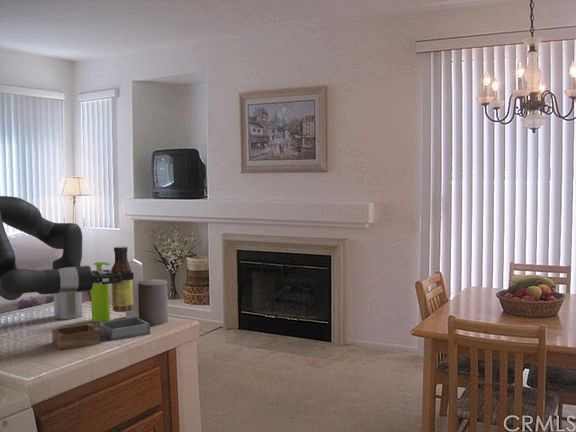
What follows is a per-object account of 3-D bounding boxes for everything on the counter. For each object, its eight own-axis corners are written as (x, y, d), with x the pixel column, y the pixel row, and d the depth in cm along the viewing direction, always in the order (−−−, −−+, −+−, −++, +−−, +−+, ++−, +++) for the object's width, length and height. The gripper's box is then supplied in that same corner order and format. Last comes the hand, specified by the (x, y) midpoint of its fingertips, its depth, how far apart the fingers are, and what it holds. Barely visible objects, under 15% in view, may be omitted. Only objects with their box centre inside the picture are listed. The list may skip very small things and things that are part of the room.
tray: (98, 332, 177) (98, 322, 177) (136, 326, 184) (136, 317, 184) (110, 340, 168) (109, 330, 167) (150, 333, 175) (149, 323, 174)
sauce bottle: (137, 310, 176) (137, 246, 175) (121, 313, 170) (121, 248, 170) (123, 307, 179) (122, 245, 178) (107, 310, 174) (106, 247, 173)
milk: (126, 320, 192) (123, 256, 191) (125, 316, 198) (123, 254, 197) (144, 319, 194) (141, 255, 193) (143, 315, 200) (141, 253, 199)
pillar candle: (132, 323, 187) (131, 279, 186) (151, 317, 196) (150, 274, 195) (156, 327, 183) (155, 281, 182) (174, 320, 192) (173, 276, 191)
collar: (52, 342, 166) (51, 329, 166) (90, 336, 173) (89, 323, 172) (60, 350, 158) (60, 336, 158) (100, 343, 165) (99, 329, 164)
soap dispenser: (107, 322, 190) (105, 263, 189) (88, 321, 191) (86, 263, 190) (115, 318, 196) (113, 261, 195) (97, 317, 197) (95, 261, 196)
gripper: (80, 269, 160) (137, 264, 170) (67, 264, 172) (121, 260, 182) (80, 295, 161) (137, 289, 170) (67, 288, 172) (122, 283, 182)
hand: (129, 274), depth 176 cm, fingers closed on sauce bottle, 6 cm apart
